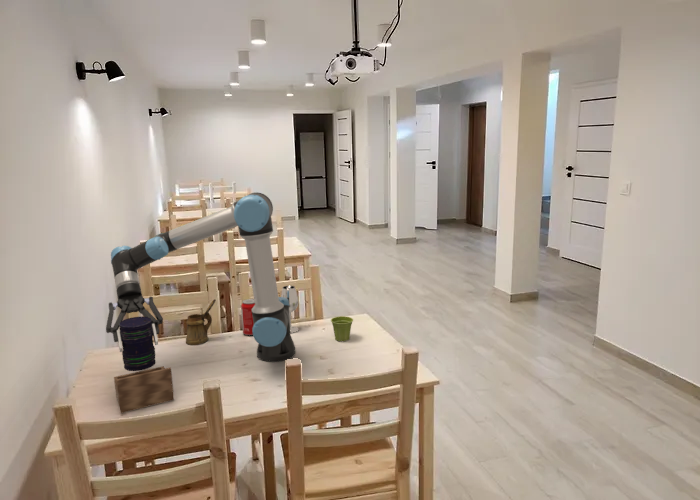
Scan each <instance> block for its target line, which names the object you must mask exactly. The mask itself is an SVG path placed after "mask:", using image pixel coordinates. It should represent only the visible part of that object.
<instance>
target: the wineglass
mask: <svg viewBox="0 0 700 500" xmlns="http://www.w3.org/2000/svg"><path fill="white" fill-rule="evenodd" d="M280 297H284V298H287V299H288V300H289V305H290V306H289V315H290V334H294V333H293V332H295V333H297V332H299V331H298V328H299V327H297V326H292V313H293V312H295V310H297V308H298V305H299V297H298V292H297V289H296V286H295V285H285V286H282V288H281V295H280ZM296 327H297V328H296ZM296 331H297V332H296Z"/></svg>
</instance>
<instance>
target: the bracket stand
mask: <svg viewBox="0 0 700 500" xmlns="http://www.w3.org/2000/svg"><path fill="white" fill-rule="evenodd" d="M172 375H173V374H172V367H166V368H165V367H164V366H159V367H153V368H148V369H145V370H141V371H134V372H130V373H126V374H122V375H116V376H114V377H113V382H114V389H115V395H116V401H117V403H118V408H119V411H120V414H123V413H126V412H131V411H135V410H138V409H143V408H146V407H151V406H154V405H159V404H162V403H163V404H164V403H166V402H170V401H174V400H175V396H174V386H173V376H172Z"/></svg>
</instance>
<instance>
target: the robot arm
mask: <svg viewBox="0 0 700 500" xmlns="http://www.w3.org/2000/svg"><path fill="white" fill-rule="evenodd" d="M273 211H274V205H273V202H272V200H271V199H270V198H269V196H268V195H266V194H264V193H262V192H257V191H256V192H252V193H249V194H247V195H244V196H243V197H241V198H240V199H239V200H238V201H235V202H232V204H231V206H230V207H227V208H224V209H222V210H218V211H217V212H214V213H212V214H209V215H205V216H203V217H201V218H198V219H196V220H194V221H192V222H191V221H190V222H188V223H186V224H183V225H180V226H178V227H176V228H172V229H170V230H169V231H168V230H167V231H165V232H162V233H159V234H157V235H155V236H154V237H151V238H149V239H148V240H146V241H143V242H142V243H140V244H137V245H136V246H134V247H131V246H129V245H122V246H115V248H113V249H112V250H111V252H110V258H111V259H110V264H111V267H112V273H113V278H114V284H115V289H116V295H117V296H116V297H117V301H116V302H114V303H113V302H112V301H111V302H108V316H107V321H106V326H105V333H107V334H109V333H111V334H112V337H113V341H114V343H117V342H118V343H117V344H118V350H119V352H120V353H122V351H123V346H122V341H121V336H120V326H119V323H120V322H121V321H123V320H124V318H125V316H126V314H131V313H140V314H141V315H142V317H149V318H151V319H152V327H153V343H154V346H157V345H159V339H158V335H159V334H160V327H159V325H162V324H163V322H164V321H163V320H164V317H163V316H162V314H161V312H160V311H159V309H158V308H157V305H156V304H155V302H154V297H153V296H149V297H147V298H145V297H144V296H143V293H142V288H141V283H140V279H139V273H138V270H139V269H142V268H143V267H146V266H148V265H150V264H151V263H154V262H157V261H159V260H162V259H163V258H164V257H166V256H167V255H169V254H170V253H171V252H174V251H177V250H179V249H182V248H184V247H188V246H189V245H191V244H195V243H197V242H200V241H203V240H205V239H208V238H210V237H213V236H217V235H218V234H221V233H223V232H226V231H229V230H231V229H233V228H236V227H238V233H239V237H240V238H241V239H243V240H244V241H245V242H244V243H245V250H246V256H247V261H248V268H249V274H250V281H251V288H252V293H253V294H252V295H253V299H254V301H255V305H254V307H253V308H252V316H253V323H254V326H253V330H252V332H253V336H252V337H253V339H254V341H256V343H258V344H257V348H256V356H257V358H258V359H259V360H261V361H264V362H271V363H273V362H274V363H275V362H283V361H287V360H289V359H291V358H293V357H294V356H296V345H295V342H294V340H293V337H292V336H291V335H292V334H291V333H290V315H289V306H290V305H289V300H288V299H287V298H284V297H281V296H279V292H278V286H277V279H276V273H275V264H274V259H273V251H272V245H271V236H272V234H273V233H274V228H273V220H272V215H273ZM145 303H146V305H147V306H149V308H150V310H151V312H152V313H153V315H154V316H153V315H152V314H151V313H150V312H149V311H148V309H146V308H145V306H144V304H145ZM117 307H118V308H119V309H120V312H119V315H118V317H117V319H116V320H115V323H114V325H113V326H112V324H113V319H114V314H115V310H116V309H117ZM286 359H287V360H286Z"/></svg>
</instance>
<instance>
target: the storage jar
mask: <svg viewBox="0 0 700 500" xmlns="http://www.w3.org/2000/svg"><path fill="white" fill-rule="evenodd" d="M119 330H120V336H121V342H122V352H121V355H122V362H123V368H124V370H125V371H129V372H139V371H144V370H148V369H151V368H152V367H154V366H155V364H156V363H157V361H156V348H155V345H154V337H153V327H152V319H151V318H149V317H144V316H133V317H128V318H125V319H123V320H122V321H121V322H120V323H119Z"/></svg>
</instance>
